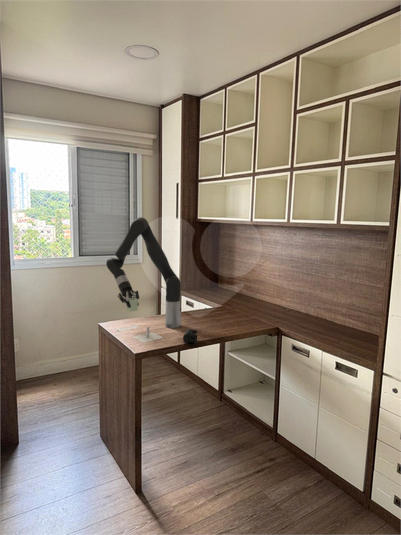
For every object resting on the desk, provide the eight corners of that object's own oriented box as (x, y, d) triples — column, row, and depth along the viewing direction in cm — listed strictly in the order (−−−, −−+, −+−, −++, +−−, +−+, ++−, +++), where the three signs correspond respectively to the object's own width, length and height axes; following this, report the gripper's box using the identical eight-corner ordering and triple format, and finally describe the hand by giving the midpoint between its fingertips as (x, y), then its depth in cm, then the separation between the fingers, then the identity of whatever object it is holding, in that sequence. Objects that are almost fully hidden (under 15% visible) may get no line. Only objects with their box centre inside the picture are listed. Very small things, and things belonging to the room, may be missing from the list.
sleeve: (133, 308, 227) (133, 297, 226) (137, 310, 223) (137, 299, 222) (126, 309, 223) (126, 298, 222) (130, 311, 220) (130, 300, 219)
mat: (136, 326, 235) (136, 325, 235) (148, 331, 225) (148, 330, 225) (116, 330, 226) (116, 329, 226) (128, 336, 216) (128, 335, 215)
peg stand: (152, 334, 220) (152, 322, 219) (163, 340, 211) (163, 327, 210) (131, 339, 210) (131, 327, 209) (143, 345, 202) (143, 332, 200)
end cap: (185, 339, 214) (185, 327, 213) (197, 339, 213) (197, 328, 212) (182, 344, 204) (182, 333, 203) (195, 345, 203) (195, 334, 202)
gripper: (115, 281, 221) (125, 305, 214) (135, 279, 231) (146, 301, 224) (111, 288, 226) (121, 311, 219) (131, 286, 236) (141, 308, 229)
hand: (133, 306), depth 221 cm, fingers closed on sleeve, 4 cm apart
